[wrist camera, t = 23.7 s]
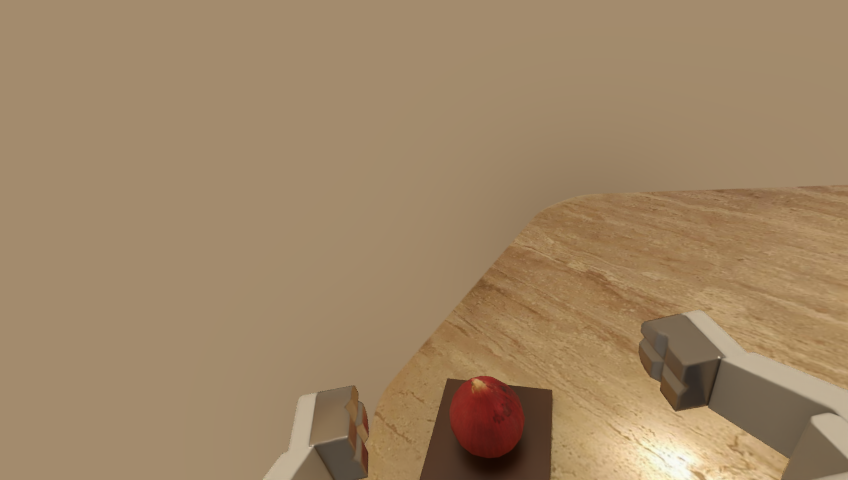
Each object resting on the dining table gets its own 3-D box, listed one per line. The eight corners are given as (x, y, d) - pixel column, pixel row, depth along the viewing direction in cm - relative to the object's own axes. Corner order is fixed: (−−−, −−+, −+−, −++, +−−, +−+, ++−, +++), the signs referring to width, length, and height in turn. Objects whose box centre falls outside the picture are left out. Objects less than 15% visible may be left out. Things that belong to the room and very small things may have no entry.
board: (414, 514, 32) (411, 506, 31) (449, 385, 41) (447, 378, 40) (548, 545, 28) (548, 537, 28) (552, 397, 38) (552, 389, 37)
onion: (516, 406, 36) (509, 344, 32) (535, 471, 31) (530, 407, 27) (453, 418, 37) (437, 358, 32) (462, 483, 32) (445, 423, 28)
